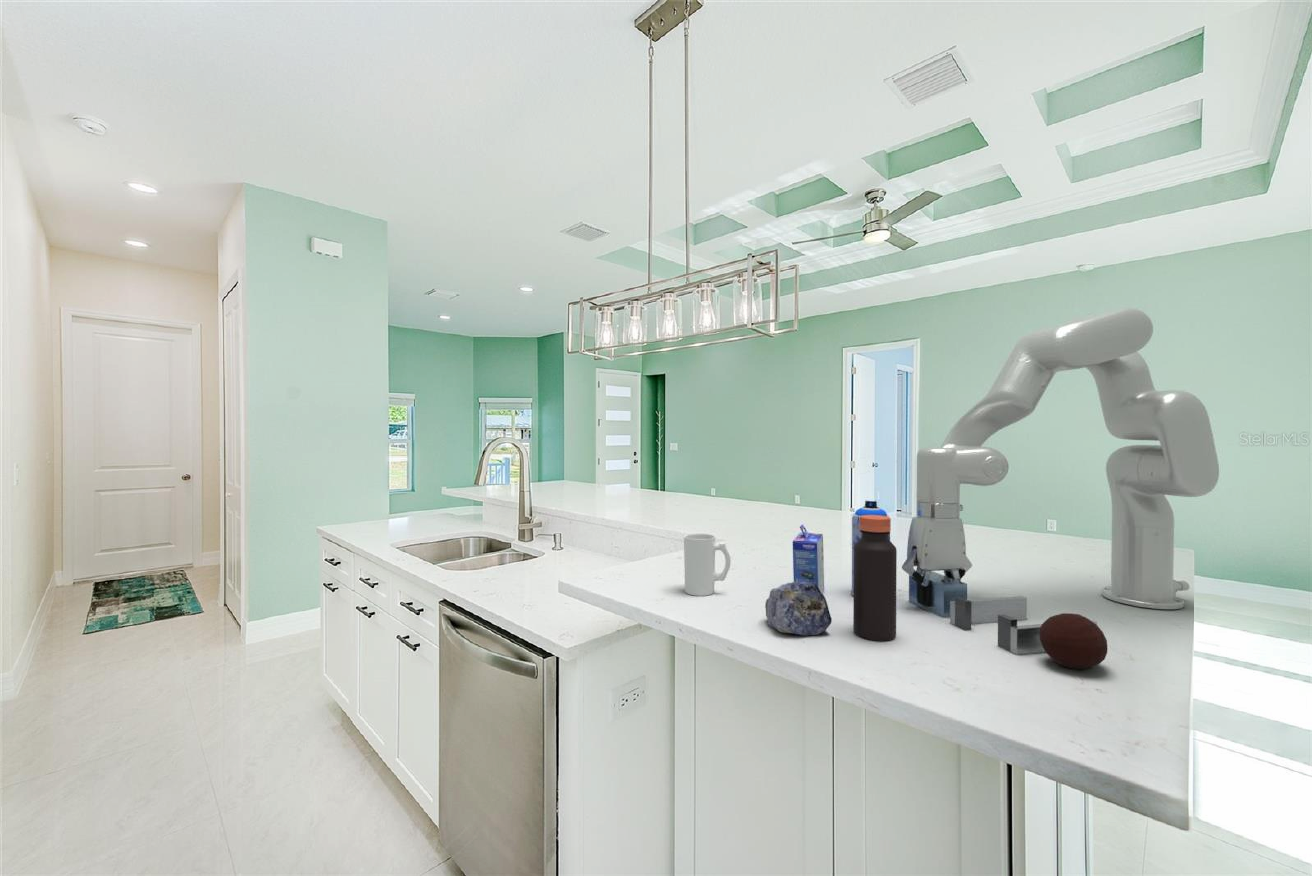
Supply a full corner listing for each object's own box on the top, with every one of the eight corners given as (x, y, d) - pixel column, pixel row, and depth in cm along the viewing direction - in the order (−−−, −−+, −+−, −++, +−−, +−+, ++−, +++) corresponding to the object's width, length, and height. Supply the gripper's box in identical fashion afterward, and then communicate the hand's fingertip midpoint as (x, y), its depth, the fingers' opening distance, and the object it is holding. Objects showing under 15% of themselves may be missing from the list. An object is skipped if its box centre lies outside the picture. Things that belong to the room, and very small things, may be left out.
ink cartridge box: (798, 586, 123) (799, 521, 123) (824, 589, 121) (824, 523, 121) (791, 598, 114) (792, 528, 114) (819, 602, 112) (819, 530, 112)
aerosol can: (848, 598, 114) (849, 501, 114) (852, 588, 122) (853, 497, 121) (890, 603, 111) (890, 504, 111) (891, 593, 118) (892, 499, 118)
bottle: (887, 645, 90) (887, 521, 89) (846, 634, 94) (847, 517, 94) (902, 633, 95) (902, 516, 94) (862, 624, 99) (863, 512, 99)
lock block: (930, 599, 113) (930, 569, 113) (967, 615, 104) (967, 582, 104) (908, 601, 112) (909, 571, 112) (943, 617, 103) (943, 584, 103)
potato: (1023, 659, 84) (1024, 608, 84) (1069, 652, 87) (1070, 603, 87) (1077, 682, 76) (1077, 626, 76) (1126, 674, 79) (1126, 620, 79)
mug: (680, 595, 117) (680, 538, 117) (688, 586, 123) (688, 532, 123) (727, 599, 114) (727, 541, 114) (733, 590, 120) (733, 535, 120)
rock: (845, 620, 94) (814, 568, 95) (797, 655, 91) (766, 601, 92) (816, 612, 104) (789, 566, 105) (773, 643, 102) (745, 595, 102)
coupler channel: (1021, 617, 103) (1021, 590, 103) (1096, 647, 89) (1097, 616, 88) (950, 623, 100) (950, 595, 100) (1016, 654, 86) (1017, 622, 86)
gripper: (961, 507, 113) (960, 595, 113) (886, 509, 110) (886, 600, 110) (990, 512, 106) (989, 607, 106) (911, 515, 102) (910, 613, 103)
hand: (936, 603), depth 108 cm, fingers closed on lock block, 5 cm apart
